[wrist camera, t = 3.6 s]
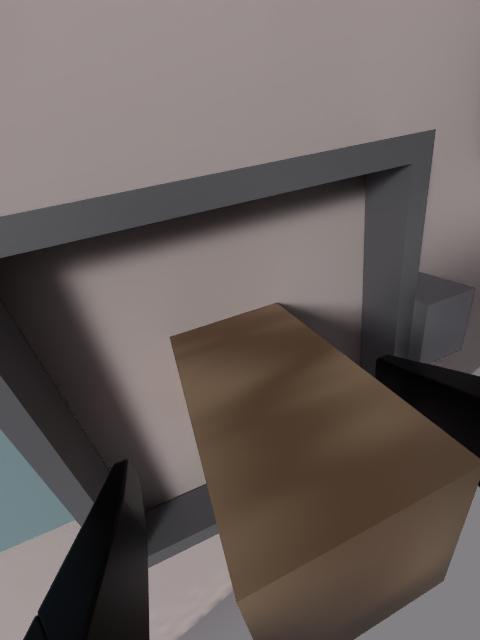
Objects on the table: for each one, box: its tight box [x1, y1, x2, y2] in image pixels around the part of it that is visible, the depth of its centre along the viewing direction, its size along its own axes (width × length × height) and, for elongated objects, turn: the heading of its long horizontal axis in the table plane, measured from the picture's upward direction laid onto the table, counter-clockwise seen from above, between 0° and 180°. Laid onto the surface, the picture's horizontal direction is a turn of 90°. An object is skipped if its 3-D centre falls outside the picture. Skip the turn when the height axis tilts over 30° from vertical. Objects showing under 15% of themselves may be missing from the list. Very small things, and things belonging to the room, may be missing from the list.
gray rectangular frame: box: [0, 129, 475, 568], centre depth 11 cm, size 17×15×3 cm
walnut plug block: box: [170, 303, 480, 640], centre depth 9 cm, size 4×4×8 cm
